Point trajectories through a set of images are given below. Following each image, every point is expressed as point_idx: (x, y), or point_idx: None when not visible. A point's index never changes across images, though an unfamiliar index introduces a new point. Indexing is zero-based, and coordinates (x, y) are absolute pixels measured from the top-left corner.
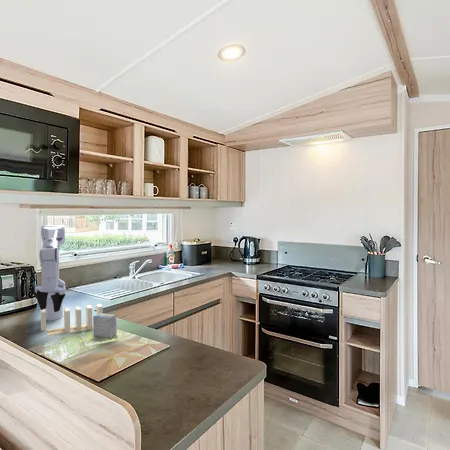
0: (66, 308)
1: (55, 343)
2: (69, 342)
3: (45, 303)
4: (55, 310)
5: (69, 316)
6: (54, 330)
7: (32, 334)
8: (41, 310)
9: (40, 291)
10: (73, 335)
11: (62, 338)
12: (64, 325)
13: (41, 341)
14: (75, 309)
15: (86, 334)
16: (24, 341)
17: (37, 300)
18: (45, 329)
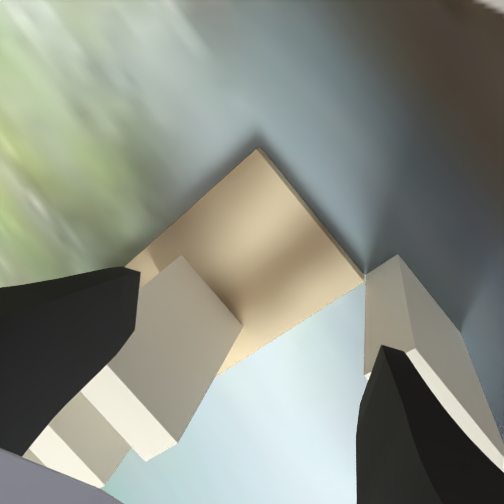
0: (150, 441)
1: (122, 52)
2: (46, 94)
3: (364, 462)
4: (106, 271)
5: None
6: (289, 278)
7: (457, 211)
8: (472, 435)
9: (59, 476)
10: (115, 227)
11: (146, 160)
12: (223, 327)
13: (258, 68)
14: (93, 446)
15: (50, 253)
16: (415, 33)
17: (481, 453)
18: (369, 279)
